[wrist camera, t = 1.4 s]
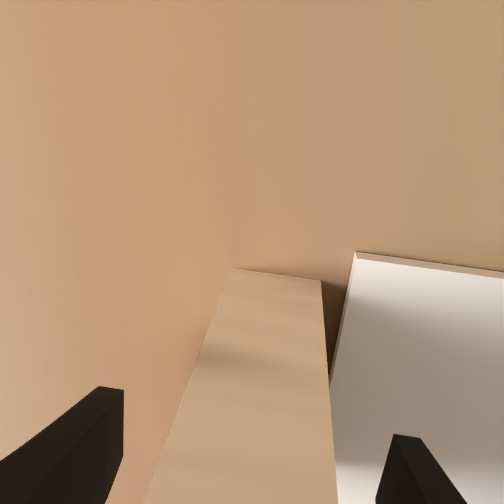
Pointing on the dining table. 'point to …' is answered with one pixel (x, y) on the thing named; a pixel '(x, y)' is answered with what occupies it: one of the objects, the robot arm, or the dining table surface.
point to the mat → (419, 374)
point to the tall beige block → (255, 402)
